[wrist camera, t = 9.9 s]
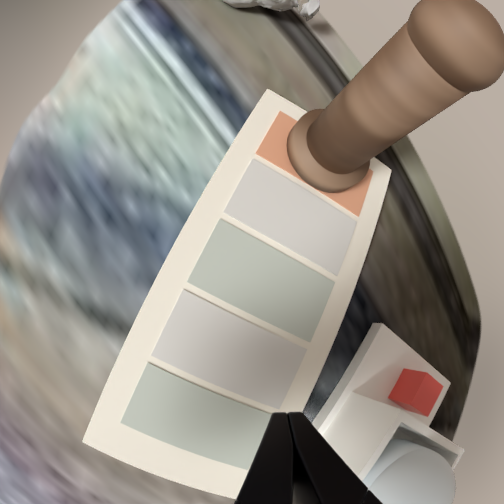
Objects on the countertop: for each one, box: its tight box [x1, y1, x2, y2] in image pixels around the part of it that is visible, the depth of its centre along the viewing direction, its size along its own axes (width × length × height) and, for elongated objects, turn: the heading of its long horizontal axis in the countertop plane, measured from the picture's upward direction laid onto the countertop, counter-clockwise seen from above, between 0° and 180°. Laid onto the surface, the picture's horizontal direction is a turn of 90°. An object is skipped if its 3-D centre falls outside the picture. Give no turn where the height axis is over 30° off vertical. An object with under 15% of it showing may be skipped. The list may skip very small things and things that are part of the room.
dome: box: [362, 439, 456, 504], centre depth 12 cm, size 6×6×6 cm
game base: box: [312, 323, 465, 481], centre depth 15 cm, size 14×9×6 cm, turn 144°
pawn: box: [287, 0, 504, 193], centre depth 12 cm, size 5×5×13 cm
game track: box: [82, 89, 392, 499], centre depth 17 cm, size 23×10×1 cm, turn 154°
